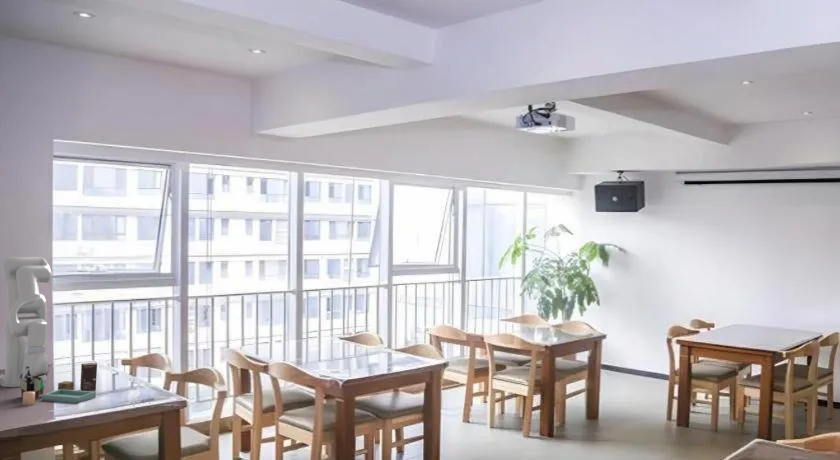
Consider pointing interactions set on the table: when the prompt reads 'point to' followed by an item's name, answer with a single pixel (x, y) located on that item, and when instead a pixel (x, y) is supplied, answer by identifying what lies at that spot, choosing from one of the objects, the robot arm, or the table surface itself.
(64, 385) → the walnut block
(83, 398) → the tray
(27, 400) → the beige rounded cube
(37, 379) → the food container
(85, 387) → the box
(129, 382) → the table surface
